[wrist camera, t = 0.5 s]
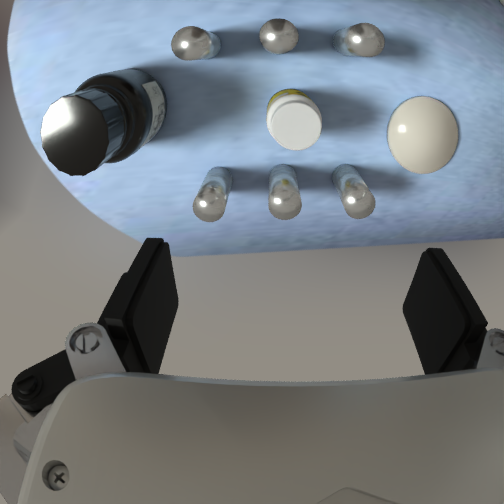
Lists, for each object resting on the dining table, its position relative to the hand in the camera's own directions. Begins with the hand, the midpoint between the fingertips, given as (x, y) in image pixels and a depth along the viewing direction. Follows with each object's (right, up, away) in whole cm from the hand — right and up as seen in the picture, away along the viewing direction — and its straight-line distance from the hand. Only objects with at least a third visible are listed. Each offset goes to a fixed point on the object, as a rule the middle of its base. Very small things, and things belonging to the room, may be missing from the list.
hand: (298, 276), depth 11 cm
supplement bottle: (+2, +15, +19) cm, 25 cm away
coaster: (+17, +14, +19) cm, 29 cm away
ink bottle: (-15, +17, +19) cm, 30 cm away
